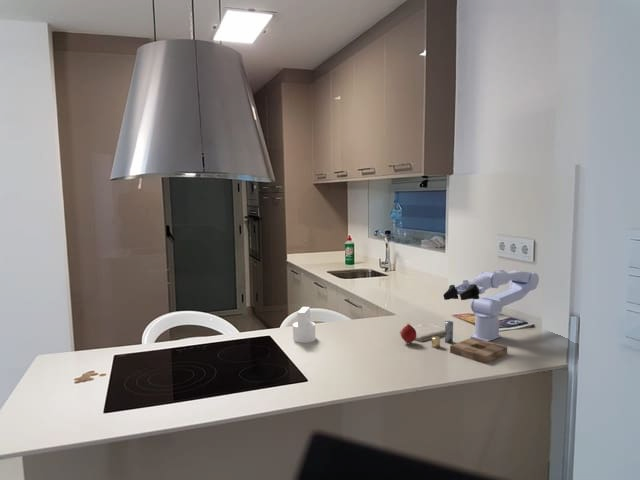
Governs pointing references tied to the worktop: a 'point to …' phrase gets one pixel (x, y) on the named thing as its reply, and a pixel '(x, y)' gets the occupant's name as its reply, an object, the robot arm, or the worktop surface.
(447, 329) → the long steel pin
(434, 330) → the washcloth
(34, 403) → the worktop surface
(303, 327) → the base with upright slab
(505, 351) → the walnut hole plate
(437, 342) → the short brass pin
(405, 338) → the onion
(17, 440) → the worktop surface
